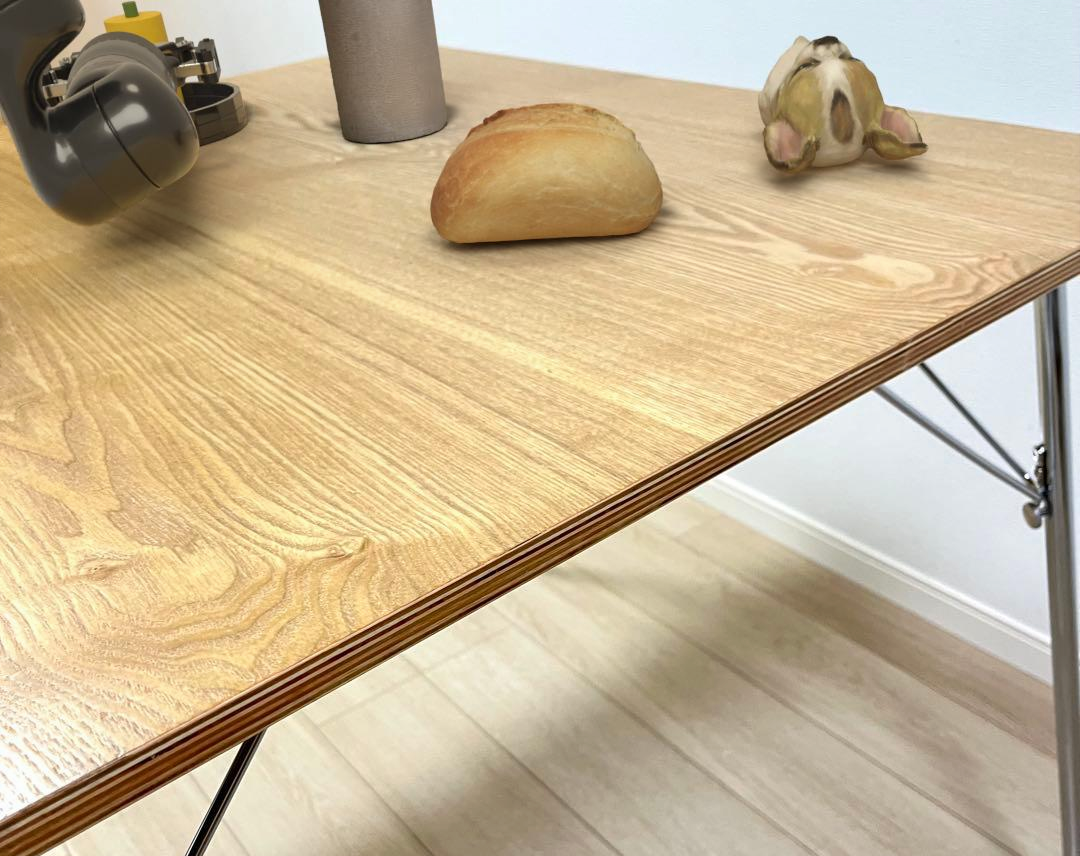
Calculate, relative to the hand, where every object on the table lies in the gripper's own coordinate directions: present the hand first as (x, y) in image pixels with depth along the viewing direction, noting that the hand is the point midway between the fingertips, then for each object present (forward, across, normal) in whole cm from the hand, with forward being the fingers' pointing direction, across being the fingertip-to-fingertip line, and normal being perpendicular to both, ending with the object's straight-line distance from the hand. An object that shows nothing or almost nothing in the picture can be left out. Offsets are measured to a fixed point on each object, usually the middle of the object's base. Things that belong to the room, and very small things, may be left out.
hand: (132, 57), depth 98 cm
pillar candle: (-3, -21, +9) cm, 23 cm away
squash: (+10, 0, +8) cm, 13 cm away
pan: (+10, 0, +9) cm, 13 cm away
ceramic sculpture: (-33, -48, +9) cm, 59 cm away
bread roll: (-38, -26, +9) cm, 47 cm away
